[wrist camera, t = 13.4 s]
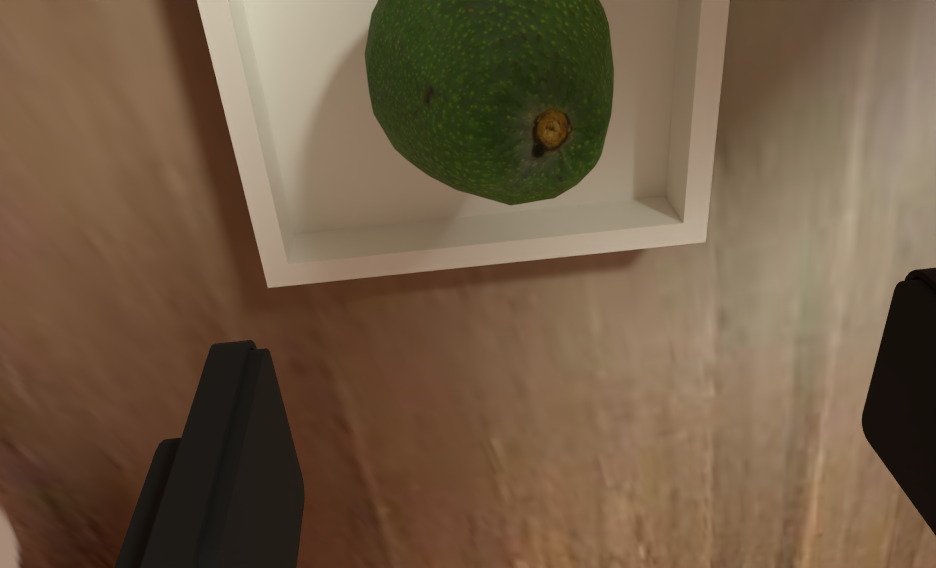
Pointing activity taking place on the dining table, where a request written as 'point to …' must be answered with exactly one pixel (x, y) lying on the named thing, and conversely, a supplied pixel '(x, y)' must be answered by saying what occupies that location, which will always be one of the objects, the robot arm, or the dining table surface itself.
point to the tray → (428, 200)
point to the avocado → (493, 91)
